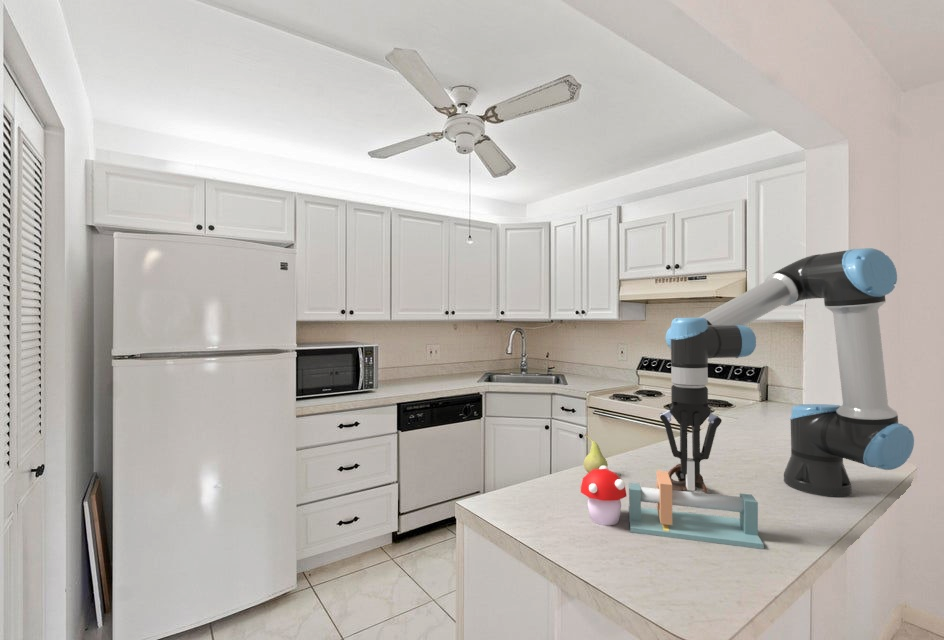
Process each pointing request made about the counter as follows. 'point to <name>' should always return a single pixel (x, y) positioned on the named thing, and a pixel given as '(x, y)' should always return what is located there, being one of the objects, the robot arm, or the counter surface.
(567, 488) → the counter surface
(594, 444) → the fruit
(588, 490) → the mushroom
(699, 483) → the pottery mug
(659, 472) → the peach rectangular collar
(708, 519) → the pipe rig
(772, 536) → the counter surface
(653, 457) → the counter surface
